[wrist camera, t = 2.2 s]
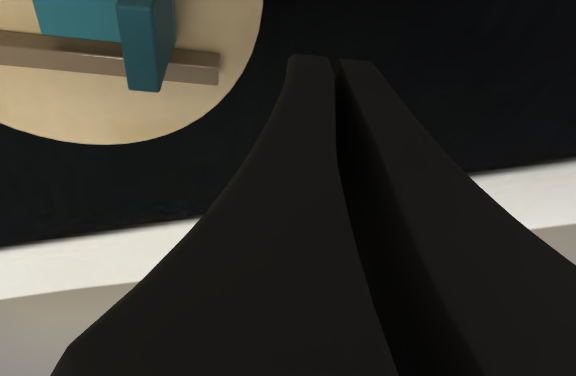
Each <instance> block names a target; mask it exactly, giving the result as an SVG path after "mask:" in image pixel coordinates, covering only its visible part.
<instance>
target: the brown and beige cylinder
mask: <svg viewBox="0 0 576 376" xmlns="http://www.w3.org/2000/svg"><path fill="white" fill-rule="evenodd" d="M263 1H264V0H175V18H176V35H177V41H176V44H175V47H174V48H173V49H172V52H171V56H170V59H169V63H168V66H167V69H166V73H165V76H164V80H163V83H162V86H161V90H160V92H158V93H154V92H143V91H132V90H129V89H128V85H127V78H126V72H125V65H124V59H123V52H122V45H121V43H118V42H109V41H99V40H89V39H80V38H70V37H60V36H50V35H43V34H42V33H41V30H40V27H39V23H38V20H37V16H36V12H35V9H34V5H33V2H32V0H0V123H1V124H4V125H6V126H9V127H12V128H14V129H17V130H21V131H24V132H27V133H31V134H34V135H37V136H41V137H46V138H50V139H55V140H60V141H66V142H74V143H81V144H101V145H110V144H126V143H133V142H139V141H145V140H150V139H153V138H157V137H160V136H163V135H167V134H169V133H172V132H174V131H176V130H179V129H181V128H183V127H185V126H187V125H189V124H190V123H192V122H194V121H196V120H197V119H199V118H201V117H202V116H203V115H205V114H206V113H207V112H208V111H210V110H211V109H212V108H213V107H215V106H216V105H217V104H218V103H219V102H220V101H221V100H222V99H223V98H224V97H225V95H226V94H227V93H228V92H229V91H230V90H231V89H232V87H233V86H234V85H235V83H236V82H237V80H238V79H239V77H240V76H241V74H242V73H243V71H244V69H245V67H246V65H247V63H248V61H249V58H250V56H251V54H252V52H253V49H254V46H255V42H256V39H257V36H258V33H259V29H260V22H261V16H262V9H263Z"/></svg>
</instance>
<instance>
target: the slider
mask: <svg viewBox="0 0 576 376" xmlns="http://www.w3.org/2000/svg"><path fill="white" fill-rule="evenodd" d="M32 2H33V5H34V9H35V12H36V16H37V20H38V23H39V27H40V30H41V33H42V34H43V35H50V36H60V37H70V38H80V39H89V40H99V41H109V42H118V43H121V45H122V52H123V59H124V65H125V72H126V78H127V85H128V89H129V90H132V91H143V92H154V93H158V92H160V90H161V86H162V83H163V80H164V76H165V73H166V69H167V66H168V63H169V59H170V56H171V52H172V49H173V48H174V47H175V44H176V41H177V35H176V18H175V0H32Z"/></svg>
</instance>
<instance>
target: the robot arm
mask: <svg viewBox="0 0 576 376" xmlns="http://www.w3.org/2000/svg"><path fill="white" fill-rule="evenodd" d="M51 376H576V265H575V264H573V263H572V262H570V261H569V260H568V259H566V258H565V257H564V256H562V255H561V254H560V253H558V252H557V251H556V250H555V249H553V248H552V247H551V246H549V245H548V244H547V243H545V242H544V241H543V240H541V239H540V238H539V237H538V236H536V235H535V234H534V233H532V232H531V231H530V230H529V229H527V228H526V227H525V226H524V225H523V224H521V223H520V222H519V221H518V220H516V219H515V218H514V217H513V216H512V215H510V214H509V213H508V212H507V211H506V210H505V209H504V208H503V207H501V206H500V205H499V204H498V203H497V202H496V201H495V200H494V199H493V198H491V197H490V196H489V195H488V194H487V193H486V192H485V191H484V190H483V189H481V188H480V187H479V186H478V185H477V184H476V183H475V182H474V181H473V180H472V179H471V178H470V177H469V176H468V175H467V174H466V173H465V172H464V171H463V170H462V169H461V168H460V167H459V166H458V165H457V164H456V163H455V162H454V161H453V160H452V158H451V157H450V156H449V155H448V154H447V153H446V152H445V151H444V150H443V149H442V148H441V147H440V146H439V145H438V143H437V142H436V141H435V140H434V139H433V138H432V137H431V136H430V134H429V133H428V132H427V131H426V130H425V129H424V127H423V126H422V125H421V124H420V123H419V121H418V120H417V119H416V118H415V116H414V115H413V114H412V113H411V112H410V110H409V109H408V108H407V107H406V105H405V104H404V103H403V101H402V100H401V99H400V98H399V96H398V95H397V94H396V92H395V91H394V90H393V89H392V87H391V86H390V85H389V83H388V82H387V81H386V79H385V78H384V77H383V75H382V74H381V73H380V72H379V70H378V69H377V68H376V66H375V65H374V64H373V63H372V62H370V61H361V60H351V59H341V58H339V61H338V66H337V70H336V75H335V78H334V73H333V70H332V67H331V64H330V62H329V59H328V57H322V56H313V55H303V54H294V55H293V56H291V57H290V58H288V64H287V71H286V79H285V82H284V85H283V88H282V91H281V94H280V96H279V98H278V100H277V103H276V105H275V107H274V109H273V111H272V113H271V116H270V118H269V120H268V122H267V124H266V125H265V127H264V129H263V131H262V132H261V134H260V136H259V138H258V139H257V141H256V143H255V145H254V146H253V148H252V150H251V151H250V153H249V154H248V156H247V158H246V159H245V161H244V162H243V164H242V165H241V167H240V168H239V170H238V171H237V172H236V174H235V175H234V177H233V178H232V179H231V181H230V182H229V183H228V185H227V186H226V188H225V189H224V190H223V192H222V193H221V194H220V195H219V196H218V198H217V199H216V200H215V201H214V203H213V204H212V205H211V206H210V208H209V209H208V210H207V211H206V212H205V214H204V215H203V216H202V217H201V219H200V220H199V221H198V222H197V223H196V224H195V225H194V227H193V228H192V229H191V230H190V231H189V232H188V233H187V234H186V235H185V236H184V238H183V239H182V240H181V241H180V242H179V243H178V244H177V245H176V246H175V247H174V248H173V249H172V250H171V251H170V252H169V253H168V254H167V255H166V256H165V257H164V258H163V259H162V260H161V261H160V262H159V263H158V264H157V265H156V266H155V267H154V268H153V269H152V270H151V271H150V272H149V273H148V274H147V275H146V276H145V277H144V278H143V279H142V280H141V281H140V282H139V283H138V284H137V285H136V286H135V287H134V288H133V289H132V290H131V291H129V292H128V293H127V294H126V295H125V296H124V297H123V298H122V299H120V300H119V301H118V302H117V303H116V304H115V305H114V306H112V307H111V308H110V309H109V310H108V311H107V312H106V313H105V314H104V315H102V316H101V317H100V318H99V319H98V320H97V321H95V322H94V323H93V324H92V325H91V326H90V327H89V328H88V329H86V330H85V331H84V332H83V333H82V334H81V335H80V336H78V337H77V338H76V339H75V340H74V341H73V342H72V343H71V344H70V345H69V346H68V347H67V349H66V350H65V352H64V353H63V355H62V357H61V358H60V360H59V362H58V363H57V365H56V367H55V369H54V370H53V372H52V374H51Z"/></svg>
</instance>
